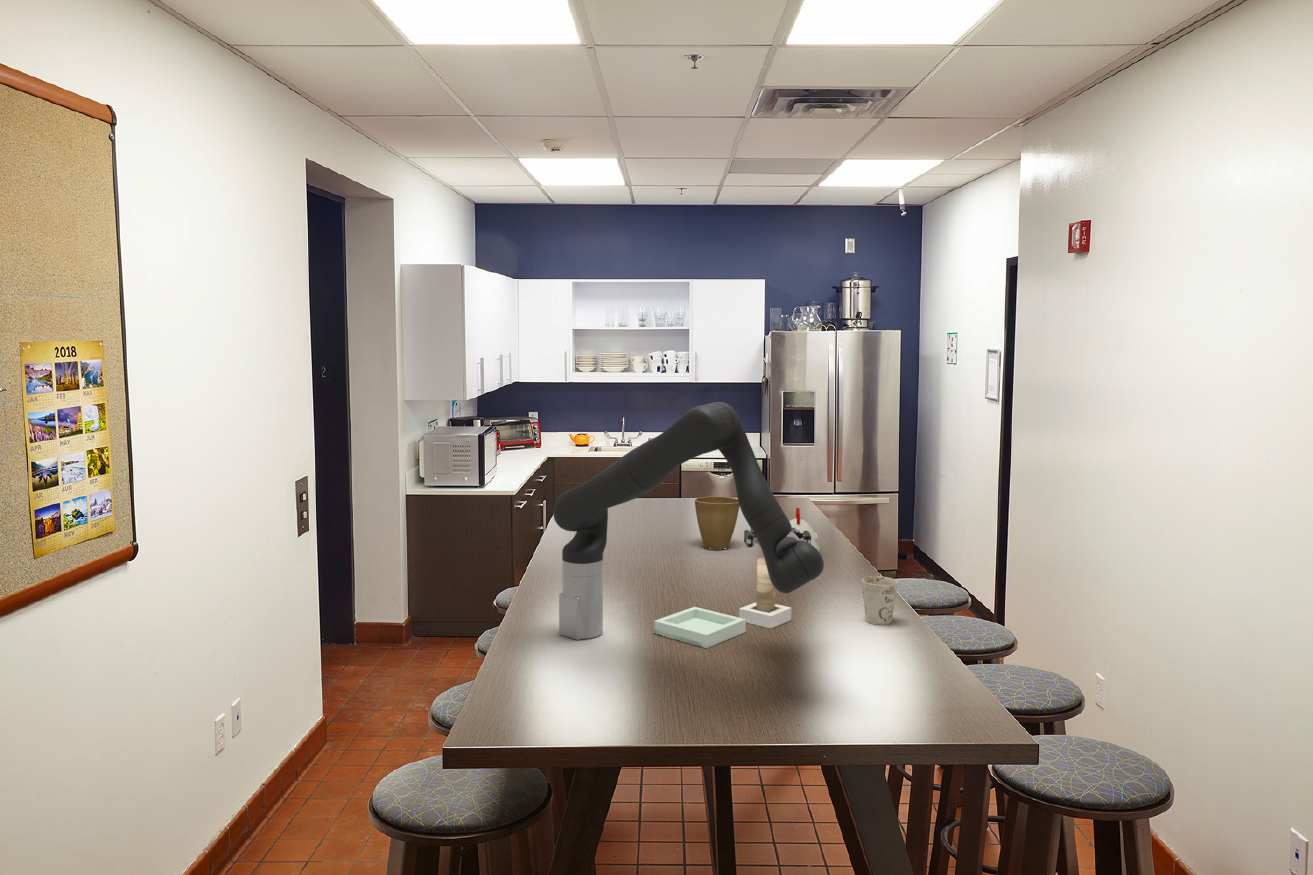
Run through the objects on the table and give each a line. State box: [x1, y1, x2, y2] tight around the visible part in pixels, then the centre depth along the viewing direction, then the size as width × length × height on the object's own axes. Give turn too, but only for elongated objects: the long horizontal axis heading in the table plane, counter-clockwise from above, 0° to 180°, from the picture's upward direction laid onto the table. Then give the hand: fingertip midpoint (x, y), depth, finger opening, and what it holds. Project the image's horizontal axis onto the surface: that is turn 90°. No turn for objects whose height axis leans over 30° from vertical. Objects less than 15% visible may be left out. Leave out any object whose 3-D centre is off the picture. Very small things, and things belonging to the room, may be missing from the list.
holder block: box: [738, 601, 793, 629], centre depth 213 cm, size 9×9×3 cm
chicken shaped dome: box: [789, 507, 820, 552], centre depth 280 cm, size 14×14×15 cm
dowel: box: [755, 556, 776, 613], centre depth 212 cm, size 4×4×15 cm
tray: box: [653, 606, 747, 649], centre depth 203 cm, size 15×15×3 cm
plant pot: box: [694, 496, 740, 550], centre depth 289 cm, size 15×15×16 cm
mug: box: [861, 575, 899, 626], centre depth 215 cm, size 8×13×10 cm, turn 15°
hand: (773, 531), depth 199 cm, fingers open, 8 cm apart
